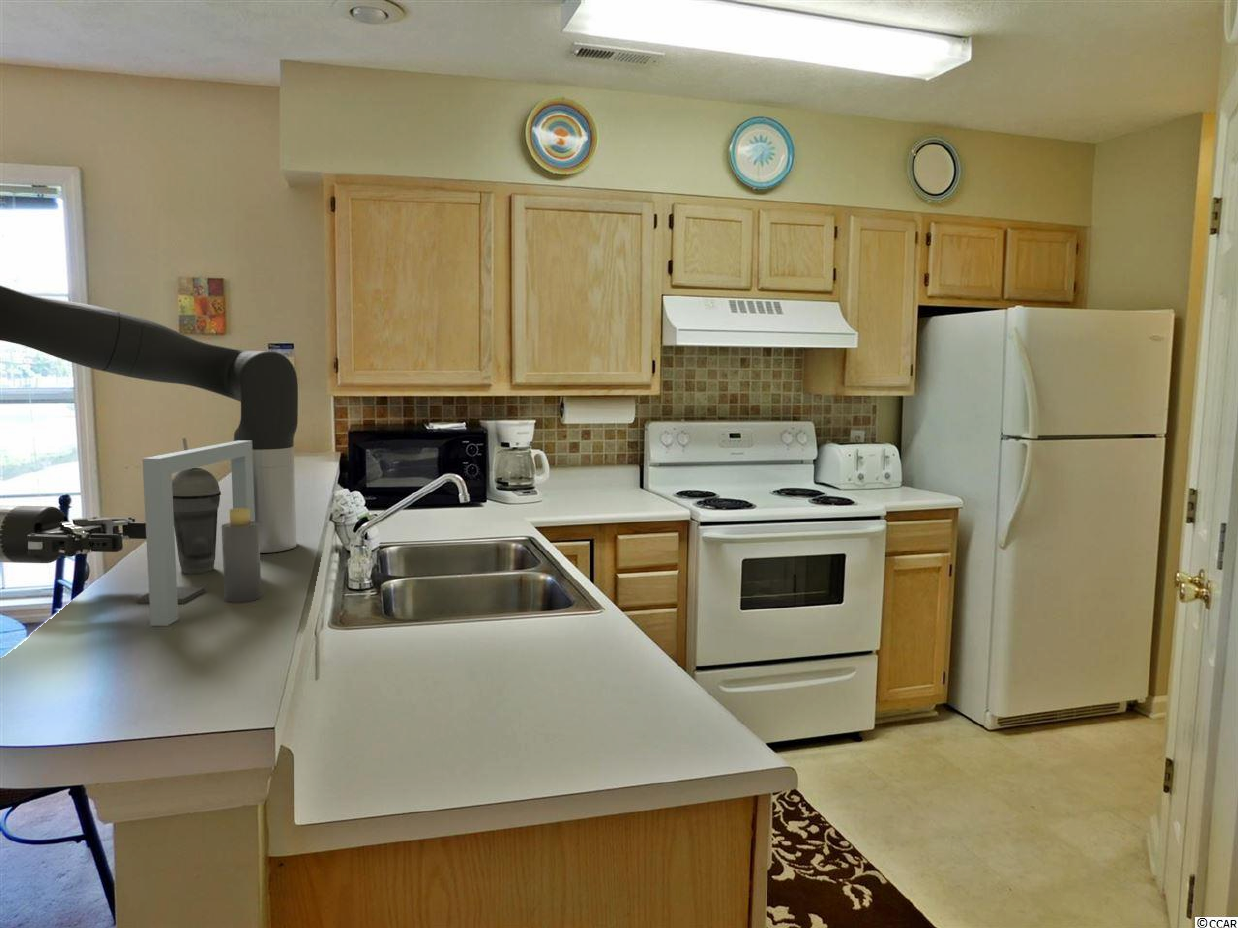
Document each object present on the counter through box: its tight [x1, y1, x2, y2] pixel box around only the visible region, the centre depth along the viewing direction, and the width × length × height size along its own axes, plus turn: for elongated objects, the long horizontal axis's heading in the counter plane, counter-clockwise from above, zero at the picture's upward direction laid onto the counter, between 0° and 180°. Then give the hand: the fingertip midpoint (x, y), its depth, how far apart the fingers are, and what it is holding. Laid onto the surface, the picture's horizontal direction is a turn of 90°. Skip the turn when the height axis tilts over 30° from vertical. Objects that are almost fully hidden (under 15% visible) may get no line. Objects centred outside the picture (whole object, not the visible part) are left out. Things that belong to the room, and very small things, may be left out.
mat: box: [136, 586, 206, 604], centre depth 114 cm, size 6×6×1 cm
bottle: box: [221, 508, 262, 604], centre depth 113 cm, size 4×4×12 cm
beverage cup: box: [172, 437, 222, 575], centre depth 127 cm, size 7×7×20 cm
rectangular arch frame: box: [142, 440, 255, 627], centre depth 113 cm, size 25×2×20 cm, turn 0°
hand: (140, 536), depth 113 cm, fingers open, 8 cm apart
